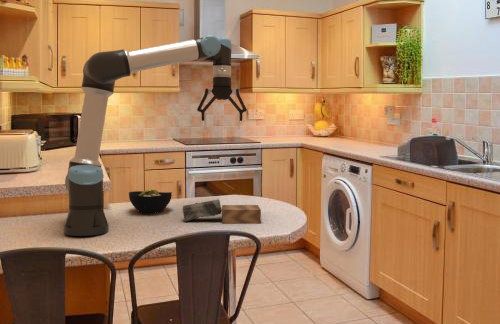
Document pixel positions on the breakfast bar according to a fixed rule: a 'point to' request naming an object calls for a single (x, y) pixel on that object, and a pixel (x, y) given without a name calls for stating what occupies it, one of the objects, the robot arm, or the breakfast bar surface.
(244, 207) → the plinth
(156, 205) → the bowl
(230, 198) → the breakfast bar surface
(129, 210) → the breakfast bar surface
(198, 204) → the stone block
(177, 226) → the breakfast bar surface
